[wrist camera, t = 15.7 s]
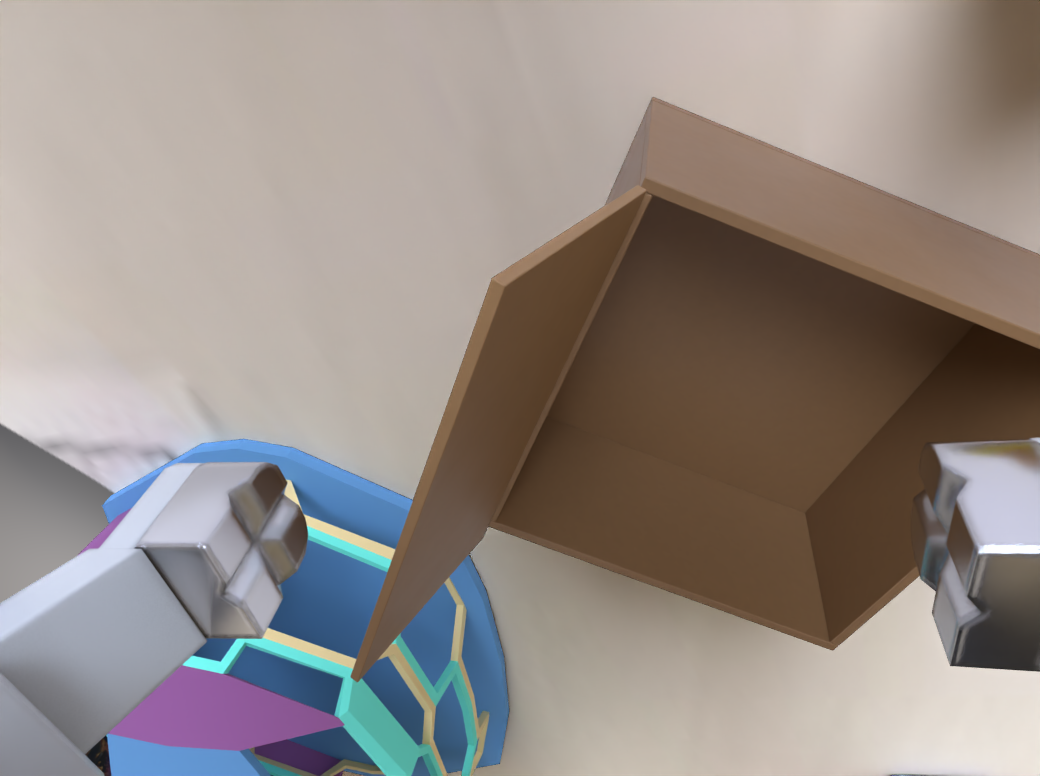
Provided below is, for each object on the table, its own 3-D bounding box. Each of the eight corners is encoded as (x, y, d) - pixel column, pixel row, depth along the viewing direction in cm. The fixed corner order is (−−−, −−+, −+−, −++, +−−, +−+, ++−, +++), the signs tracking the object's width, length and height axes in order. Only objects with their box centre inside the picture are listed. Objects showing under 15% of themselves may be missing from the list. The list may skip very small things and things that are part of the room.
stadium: (47, 430, 40) (-195, 658, 29) (465, 448, 36) (368, 726, 24) (246, 751, 61) (149, 957, 50) (528, 788, 56) (491, 1024, 45)
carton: (516, 406, 34) (482, 525, 28) (652, 96, 24) (645, 176, 19) (806, 514, 35) (832, 651, 29) (1041, 255, 25) (1149, 378, 20)
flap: (482, 538, 27) (475, 534, 27) (648, 189, 18) (637, 184, 18) (357, 683, 22) (349, 677, 22) (505, 286, 13) (490, 277, 13)
